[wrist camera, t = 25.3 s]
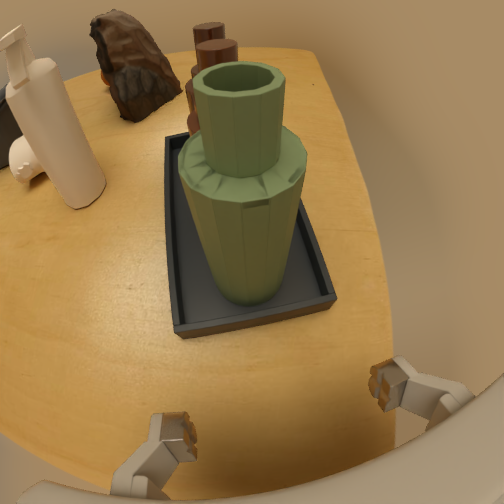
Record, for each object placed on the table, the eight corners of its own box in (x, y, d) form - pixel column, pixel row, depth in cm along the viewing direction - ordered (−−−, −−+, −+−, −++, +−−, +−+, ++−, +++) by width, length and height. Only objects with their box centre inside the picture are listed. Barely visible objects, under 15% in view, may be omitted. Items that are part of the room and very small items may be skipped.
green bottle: (289, 298, 23) (347, 110, 7) (220, 312, 23) (152, 133, 7) (273, 239, 26) (290, 49, 10) (210, 251, 26) (162, 64, 10)
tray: (329, 309, 24) (337, 299, 21) (182, 339, 22) (173, 332, 20) (266, 136, 35) (266, 119, 32) (169, 152, 34) (165, 136, 31)
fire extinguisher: (100, 152, 35) (45, 11, 13) (115, 200, 30) (31, 14, 8) (64, 173, 33) (-3, 42, 11) (72, 227, 28) (-34, 62, 6)
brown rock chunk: (134, 128, 37) (100, 18, 20) (95, 117, 40) (63, 31, 23) (185, 91, 42) (169, -6, 25) (142, 84, 45) (122, 4, 28)
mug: (69, 170, 34) (47, 133, 26) (26, 194, 32) (2, 162, 25) (76, 131, 39) (61, 98, 32) (38, 152, 37) (21, 122, 30)
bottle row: (263, 232, 27) (270, 52, 11) (212, 241, 26) (171, 64, 11) (242, 157, 32) (235, 17, 16) (201, 164, 31) (176, 25, 16)
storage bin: (24, 123, 45) (4, 84, 33) (66, 104, 46) (47, 58, 33) (-13, 182, 35) (-44, 139, 23) (28, 163, 36) (-5, 109, 23)
